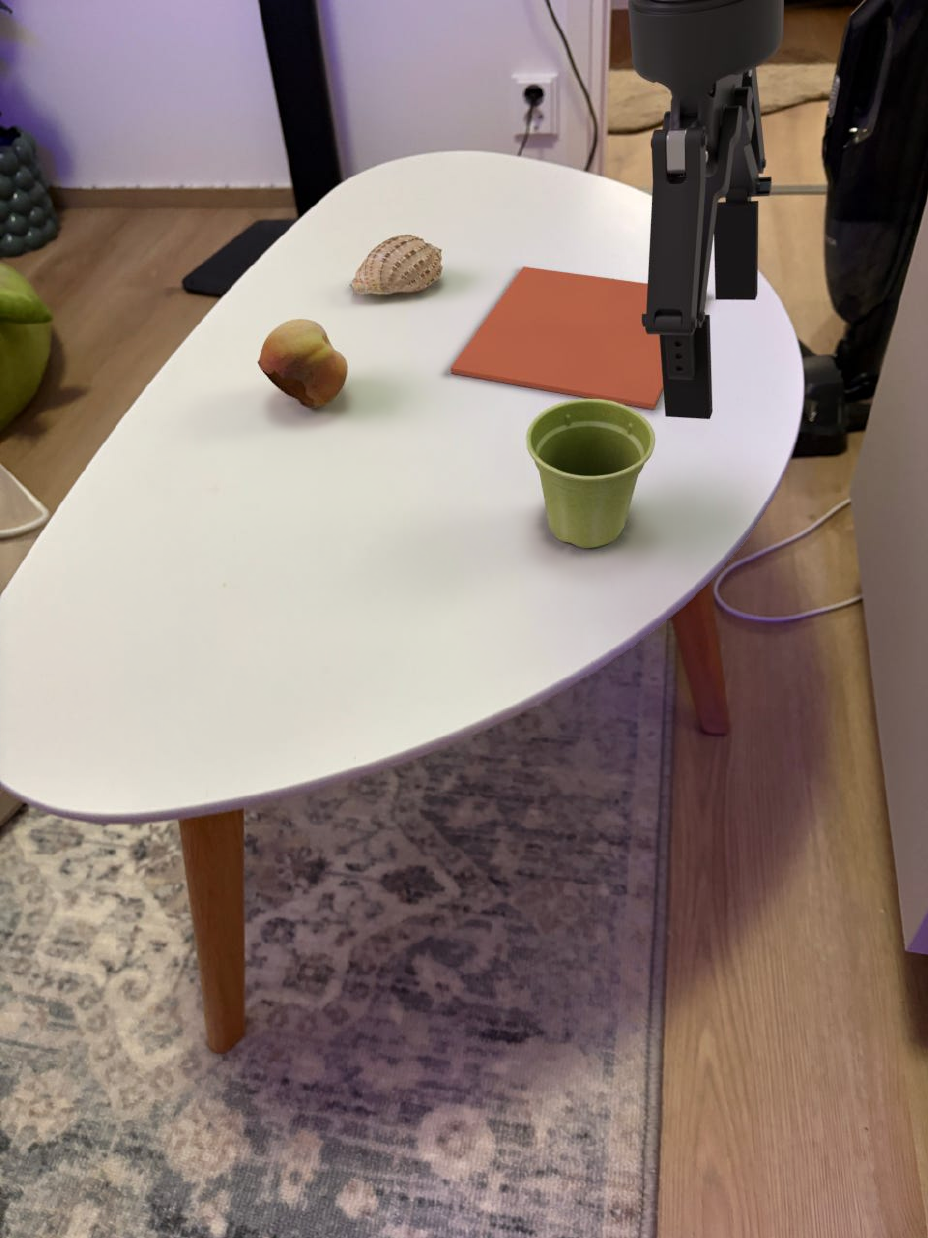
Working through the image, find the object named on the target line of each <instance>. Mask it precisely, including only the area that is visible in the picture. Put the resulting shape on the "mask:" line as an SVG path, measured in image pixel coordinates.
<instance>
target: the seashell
mask: <svg viewBox="0 0 928 1238" xmlns="http://www.w3.org/2000/svg"><path fill="white" fill-rule="evenodd" d="M442 250H443V249H442V248H440V247H439V248H438V247H437V246H435V245H433V244H432V243H429V242H425V241H424V238H420V236H416V235H412V234H400V235H396V236H392V237H390V238H387V239H385V240H384V241H381V243H379V244H377V246H375V247H374V249H372V250H370V252H369V253H368V255H367V256H366V258H365V259H364V260H363V262H362V263H361V265H360V267H358V268H357V270H356V272H355V274H354V278H353V279H352V280H351V283H349V287H351V289H352V290H351V291H352V292H353V294H355V295H358V296H362V295H369V294H372V295H373V294H375V295H379V296H380V295H392V294H396V293H418V292H421V291H424V290H425V289H427V288H428V287H430V286H432V285H433V284H434V283H435V282H437V280H438V279H439V278H440V276H441V274H442V272H443V271H442V270H443V265H442V263H441V262H442V259H443V257H442Z"/></svg>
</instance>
